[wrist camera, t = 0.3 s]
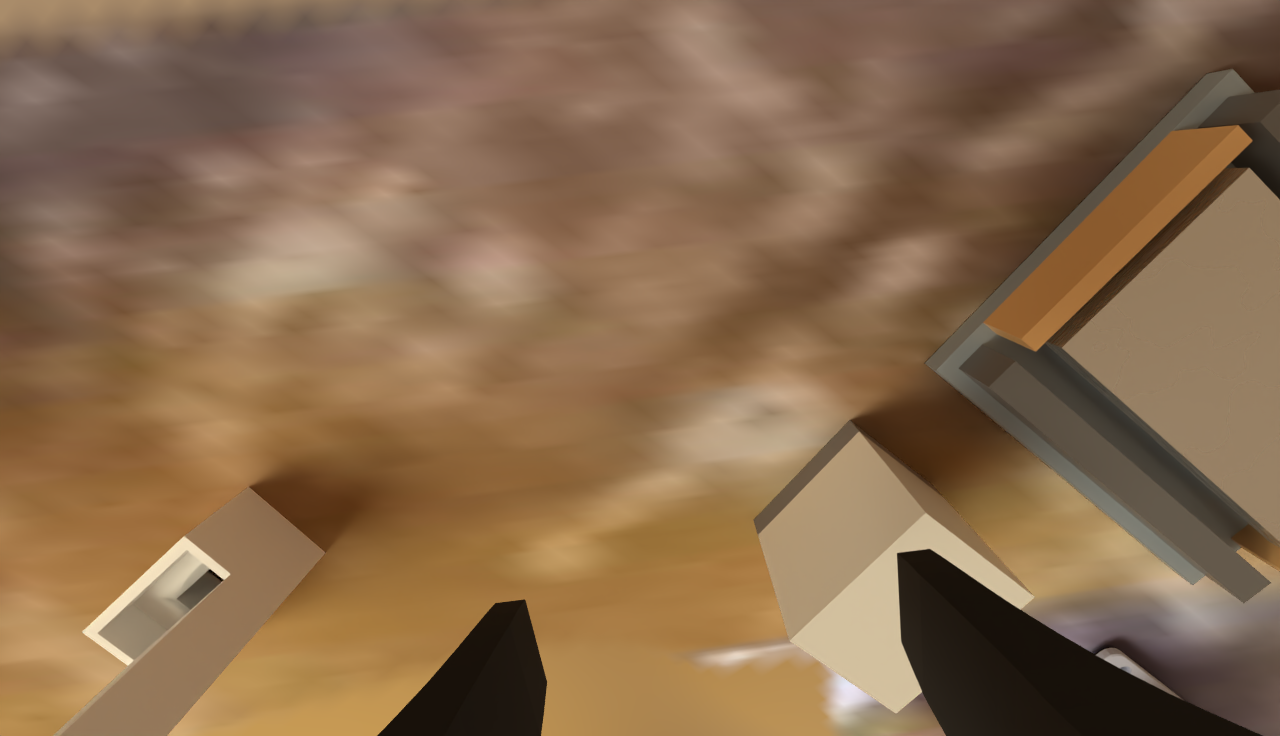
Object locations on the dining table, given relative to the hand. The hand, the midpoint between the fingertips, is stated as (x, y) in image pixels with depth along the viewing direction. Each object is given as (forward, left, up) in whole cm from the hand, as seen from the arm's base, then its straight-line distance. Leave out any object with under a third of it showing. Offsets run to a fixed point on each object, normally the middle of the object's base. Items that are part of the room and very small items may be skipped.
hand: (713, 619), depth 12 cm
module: (-6, -1, -10) cm, 12 cm away
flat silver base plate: (-11, -12, -8) cm, 18 cm away
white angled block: (+10, +15, -10) cm, 20 cm away
